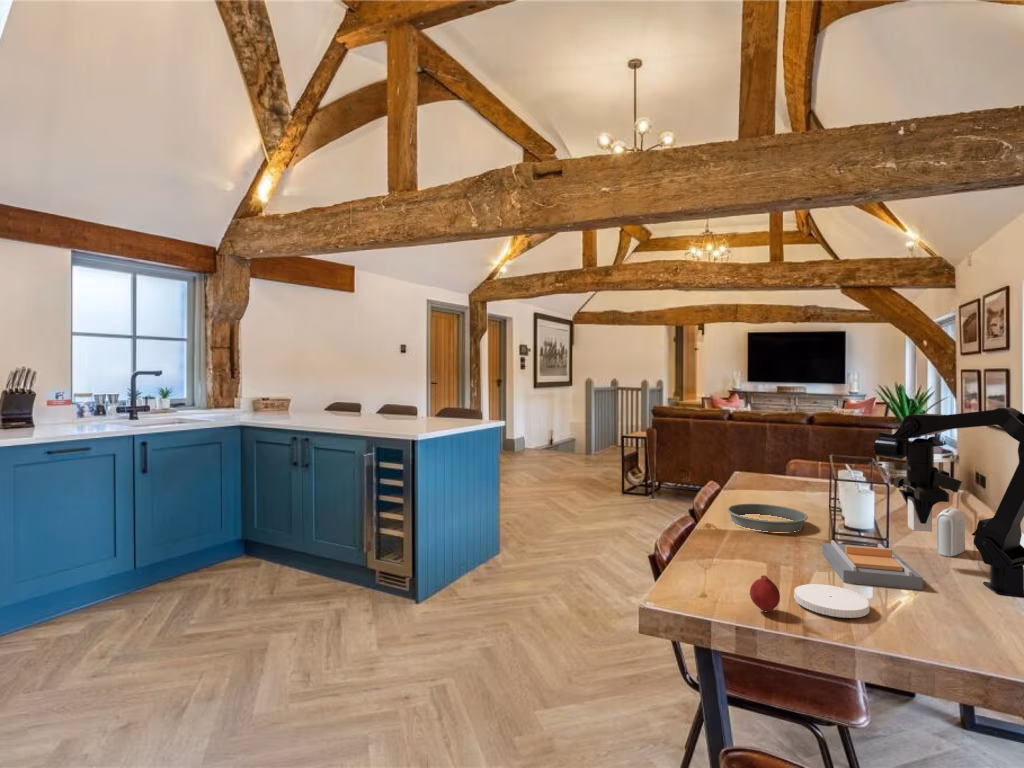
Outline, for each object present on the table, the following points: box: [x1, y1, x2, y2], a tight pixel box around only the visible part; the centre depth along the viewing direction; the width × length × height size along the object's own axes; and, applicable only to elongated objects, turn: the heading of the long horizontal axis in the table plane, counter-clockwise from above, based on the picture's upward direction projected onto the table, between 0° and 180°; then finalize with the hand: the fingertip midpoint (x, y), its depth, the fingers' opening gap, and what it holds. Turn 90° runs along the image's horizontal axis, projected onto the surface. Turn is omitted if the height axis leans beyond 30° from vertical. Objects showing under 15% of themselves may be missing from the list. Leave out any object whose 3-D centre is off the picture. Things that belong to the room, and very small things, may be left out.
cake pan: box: [726, 503, 809, 533], centre depth 180 cm, size 25×25×4 cm
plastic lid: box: [793, 583, 870, 619], centre depth 116 cm, size 14×14×2 cm
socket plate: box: [822, 539, 923, 591], centre depth 137 cm, size 22×16×4 cm
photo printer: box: [936, 507, 966, 558], centre depth 150 cm, size 10×4×12 cm, turn 123°
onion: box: [749, 574, 781, 612], centre depth 114 cm, size 6×6×8 cm
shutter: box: [845, 544, 903, 571], centre depth 133 cm, size 8×10×3 cm
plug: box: [907, 497, 933, 533], centre depth 140 cm, size 4×4×8 cm
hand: (919, 521), depth 140 cm, fingers closed on plug, 4 cm apart
